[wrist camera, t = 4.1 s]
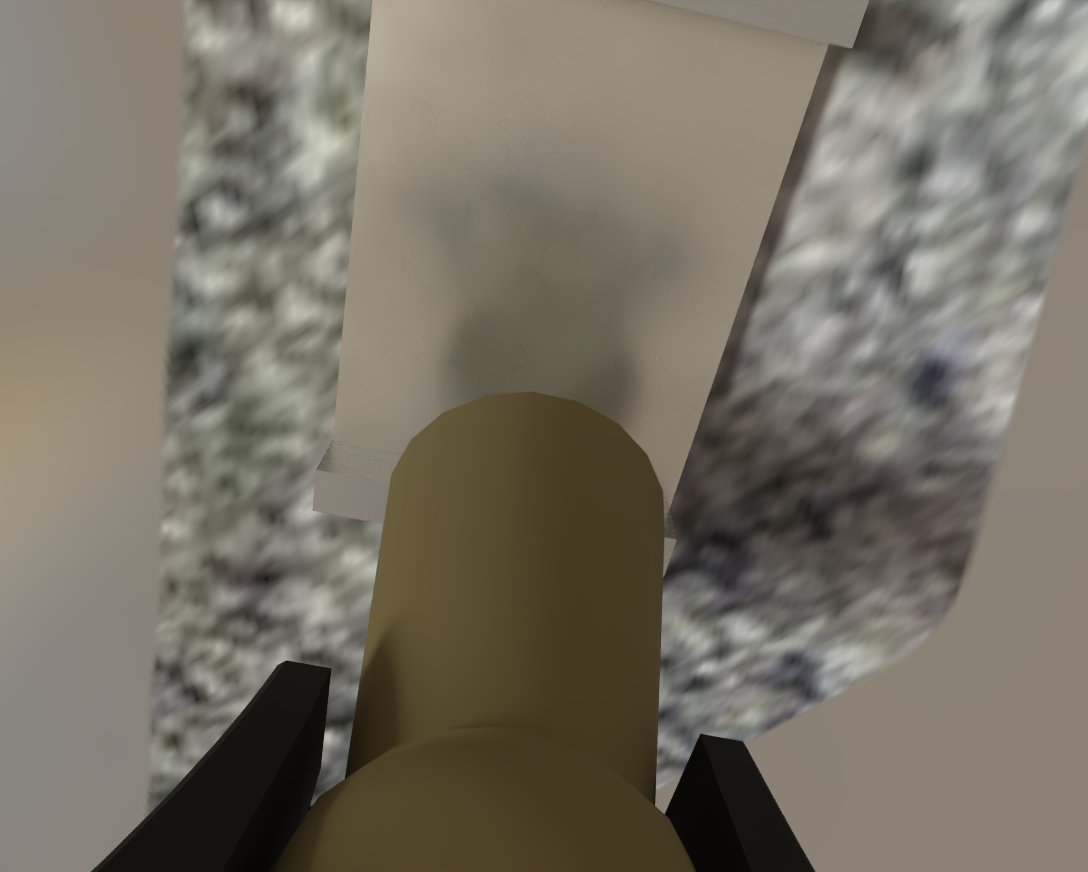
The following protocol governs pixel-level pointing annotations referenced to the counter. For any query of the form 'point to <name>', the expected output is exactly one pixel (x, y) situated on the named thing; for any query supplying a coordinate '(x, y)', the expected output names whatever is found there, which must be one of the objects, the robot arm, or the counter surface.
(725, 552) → the counter surface
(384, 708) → the brown rounded piece
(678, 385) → the bottom track
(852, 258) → the counter surface
